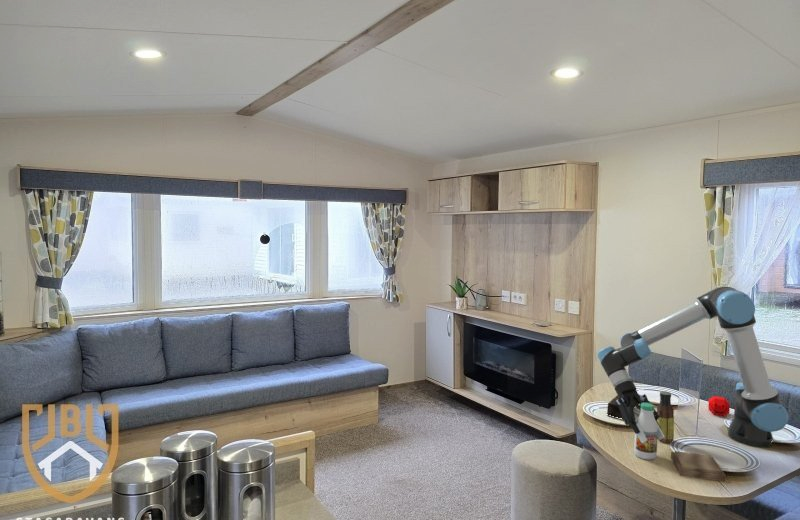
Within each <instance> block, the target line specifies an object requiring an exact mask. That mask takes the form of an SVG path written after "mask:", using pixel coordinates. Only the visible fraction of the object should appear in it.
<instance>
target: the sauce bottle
mask: <svg viewBox="0 0 800 520" xmlns="http://www.w3.org/2000/svg"><path fill="white" fill-rule="evenodd" d="M659 398H660V399H659V403H658V405H657V407H656V412H657V413H658V415H659V416H660V418H658V419H657V422H658V423H659V425H660V427H661V431H662V433H663V434H664V436H665V437H664V438H662V439H661V440H659V439H658V437H657V441H659V442H660V443H665V444H671V442H672V441H673V442H674V436H675V435H674V434H675V416H674V413H675V412H674V408H673V406H672V401H671V400H672V399H671V398H672V393H671V392H669V391H665V390H663V391H662V390H661V391H659ZM673 442H672V443H673Z"/></svg>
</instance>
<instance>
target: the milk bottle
mask: <svg viewBox="0 0 800 520" xmlns="http://www.w3.org/2000/svg"><path fill="white" fill-rule="evenodd" d="M650 403H651V402H650ZM650 403H641V411H640V413H639V416H638V417H637V418H636V424H637V423H639V425H640V427H641V429H642V431H643V432H644V434H645V436H646V438H647V441H646V442H644V443H641V441H640V439H639V437H638V435H637V434H636V433H635V432H634V443H633V444H634V445H633V453H634V455H635V456H636V457H638V458H640V459H643V460H647V461H648V460H649V461H650V460H651V461H652V460H655V459H656V458H657V451H658V439H657V435H658V427H657V423H656V420H655V418H654V414H653V412H654V409H655V405H654V404H652V403H651V404H650Z"/></svg>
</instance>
